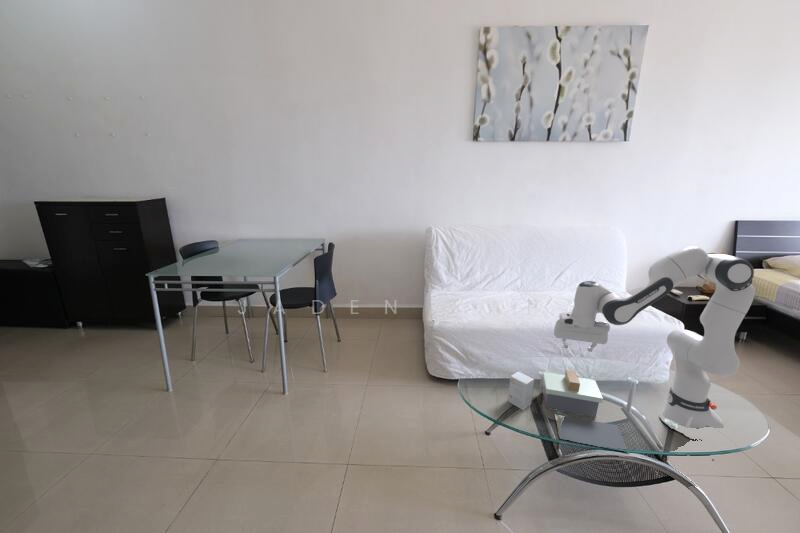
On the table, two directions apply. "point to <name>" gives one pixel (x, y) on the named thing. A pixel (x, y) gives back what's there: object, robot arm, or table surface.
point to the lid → (572, 386)
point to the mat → (591, 433)
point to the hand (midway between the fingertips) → (577, 349)
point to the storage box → (570, 404)
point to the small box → (520, 390)
